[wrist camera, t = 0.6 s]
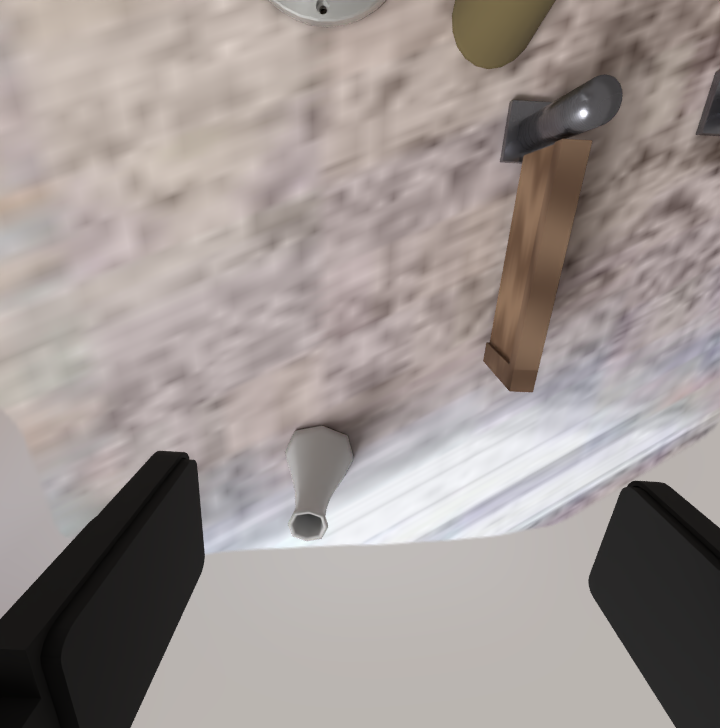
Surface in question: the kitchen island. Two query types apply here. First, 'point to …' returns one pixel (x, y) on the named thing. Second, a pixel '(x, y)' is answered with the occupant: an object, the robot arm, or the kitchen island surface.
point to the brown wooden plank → (535, 260)
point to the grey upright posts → (580, 116)
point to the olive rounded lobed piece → (496, 28)
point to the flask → (315, 477)
